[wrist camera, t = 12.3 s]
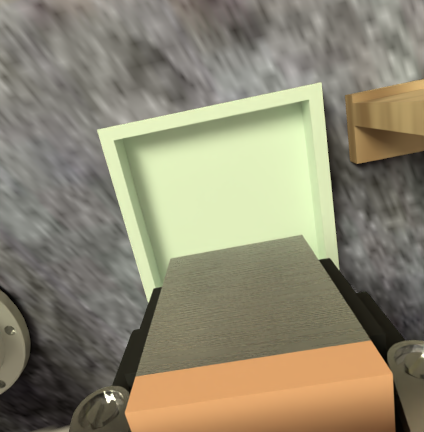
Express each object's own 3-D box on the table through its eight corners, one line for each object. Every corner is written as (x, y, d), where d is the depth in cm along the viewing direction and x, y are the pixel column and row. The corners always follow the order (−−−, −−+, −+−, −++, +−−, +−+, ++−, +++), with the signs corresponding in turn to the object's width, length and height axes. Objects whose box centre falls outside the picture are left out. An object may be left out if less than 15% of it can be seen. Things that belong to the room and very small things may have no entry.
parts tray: (158, 300, 27) (152, 318, 25) (109, 127, 23) (97, 129, 21) (329, 269, 26) (340, 286, 24) (309, 84, 22) (321, 82, 20)
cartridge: (198, 363, 13) (183, 574, 7) (170, 258, 11) (124, 412, 6) (316, 345, 12) (400, 549, 7) (302, 234, 11) (393, 373, 5)
